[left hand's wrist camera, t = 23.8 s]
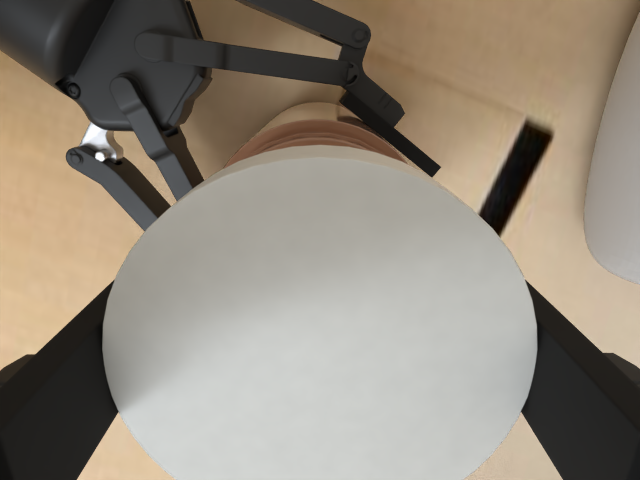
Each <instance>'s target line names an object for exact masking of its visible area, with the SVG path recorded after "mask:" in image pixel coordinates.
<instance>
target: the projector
mask: <svg viewBox="0 0 640 480" xmlns="http://www.w3.org/2000/svg"><path fill="white" fill-rule="evenodd" d="M584 232H585V238H586V242H587V245H588V248H589V250H590V252H591V254H592V256H593V257H594V258H595V260H596V261H597V262H598V263H599V264H600V265H601V266H602V267H603V268H605V269H606V270H608V271H609V272H611V273H612V274H615V275H617V276H619V277H621V278H623V279H625V280H628V281H630V282H633V283H636V284H640V12H639V14H638V16H637V19H636V21H635V23H634V26H633V28H632V31H631V33H630V35H629V38H628V40H627V43H626V46H625V48H624V51H623V54H622V56H621V59H620V61H619V64H618V67H617V70H616V73H615V76H614V79H613V82H612V85H611V88H610V91H609V95H608V98H607V101H606V105H605V108H604V111H603V115H602V119H601V123H600V127H599V130H598V134H597V138H596V143H595V147H594V152H593V156H592V161H591V166H590V171H589V177H588V182H587V189H586V196H585V205H584Z"/></svg>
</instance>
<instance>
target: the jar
mask: <svg viewBox="0 0 640 480" xmlns="http://www.w3.org/2000/svg"><path fill="white" fill-rule="evenodd" d="M309 145H331V146H345V147H352V148H357V149H362V150H367V151H372V152H376V153H379V154H382V155H385V156H388V157H391V158H393V159H396V160H399V161H402V162H404V163H406V164H407V162H406V161H405V160H404V159H403V158H402V157H401V155H400V154H399V153H398V152H397V151H396V150H395V149H394V148H393V147H392V146H391V145H390V144H388V143H387V142H386V141H385V140H384V139H383V138H382V137H381V136H380V135H379V134H378V133H377V132H375V131H374V130H373V129H372V128H371V127H369V126H368V125H367V124H366V123H364V122H363V121H362V120H361V119H360V118H358V117H357V116H356V115H355V114H353V113H352V112H351V111H350V110H348V109H346V108H344V107H342V106H338V105H335V104H331V103H325V102H311V103H304V104H300V105H296V106H294V107H291V108H289V109H287V110H285V111H283V112H281V113H280V114H278V115H277V116H276V117H274V118H273V119H272V120H271V121H270V122H269V123H268V124H266V125H265V126H264V127H263V128H262V129H261V130H260V131H259V132H258V133H257V134H255V135H254V136H253V137H252V138H251V139H250V140H249V141H248V142H247V143H246V144H244V145H243V146H242V147H241V148H240V149H239V150H238V151H237V152H236V153H235V154H234V155H233V156H232V157H231V158H230V160H229V161H228V162H227V164H226V165H225V167H224V168H226V167H228V166H230V165H232V164H234V163H236V162H238V161H241V160H243V159H246V158H249V157H252V156H255V155H258V154H261V153H264V152H268V151H273V150H278V149H283V148H288V147H294V146H309ZM224 168H223V169H224Z"/></svg>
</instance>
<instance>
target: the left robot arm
mask: <svg viewBox="0 0 640 480" xmlns="http://www.w3.org/2000/svg"><path fill="white" fill-rule="evenodd" d="M114 281H115V280H114ZM114 281H113V282H111V283H110V284H109V285H108V286H107V287H106V288H105V289H104V290H103V291H102V292H101V293H100V294H99V295H98V296H97V297H96V298H95V299H94V300H92V301H91V302H90V303H89V304H88V305H87V306H86V307H85V308H84V309H83V310H82V311H81V312H80V313H79V314H78V315H77V316H76V317H74V318H73V319H72V320H71V321H70V322H69V323H68V324H67V325H66V326H65V327H64V328H63V329H62V330H61V331H60V332H59V333H58V334H57V335H55V336H54V337H53V338H52V339H51V340H50V341H49V342H48V343H47V344H46V345H45V346H44V347H43V348H42V349H41V350H40V351H39V352H37V353H36V354H35V355H25V356H23V357H22V358H20V359H18V360H16V361H15V362H13V363H11V364H9V365H8V366H6V367H4V368H3V369H2V370H1V371H0V480H77V478H78V477H79V475H80V473H81V472H82V470H83V469H84V467H85V465H86V464H87V462H88V460H89V459H90V457H91V456H92V454H93V452H94V451H95V449H96V447H97V446H98V444H99V443H100V441H101V439H102V438H103V436H104V435H105V433H106V431H107V430H108V428H109V426H110V425H111V423H112V422H113V420H114V418H115V417H116V415H117V413H118V412H119V411H118V409H117V407H116V405H115V402H114V400H113V398H112V395H111V392H110V388H109V385H108V381H107V377H106V372H105V367H104V360H103V352H102V339H103V321H104V316H105V311H106V306H107V301H108V297H109V294H110V292H111V289H112V286H113V283H114ZM525 281H526V280H525ZM526 284H527V287H528V290H529V292H530V295H531V298H532V301H533V307H534V312H535V318H536V323H537V358H536V364H535V369H534V375H533V379H532V383H531V387H530V391H529V394H528V397H527V399H526V402H525V404H524V406H523V408H522V410H521V412H522V414H523V415H524V417H525V419H526V420H527V422H528V424H529V425H530V427H531V428H532V430H533V432H534V433H535V435H536V437H537V438H538V440H539V441H540V443H541V445H542V446H543V448H544V450H545V451H546V453H547V454H548V456H549V458H550V459H551V461H552V463H553V464H554V466H555V467H556V469H557V471H558V472H559V474H560V476H561V477H562V479H563V480H640V369H639V368H638V367H637V366H635V365H633V364H632V363H630V362H628V361H626V360H625V359H623V358H621V357H619V356H618V355H616V354H614V353H602V352H601V351H600V350H599V349H598V348H597V347H596V346H595V345H594V344H593V343H592V342H591V341H590V340H588V339H587V338H586V337H585V336H584V335H583V334H582V333H581V332H580V331H579V330H578V329H577V328H576V327H575V326H574V325H573V324H572V323H571V322H569V321H568V320H567V319H566V318H565V317H564V316H563V315H562V314H561V313H560V312H559V311H558V310H557V309H556V308H555V307H554V306H553V305H551V304H550V303H549V302H548V301H547V300H546V299H545V298H544V297H543V296H542V295H541V294H540V293H539V292H538V291H537V290H536V289H535V288H534V287H532V286H531V285H530V284H529V283H528V282H527V281H526Z"/></svg>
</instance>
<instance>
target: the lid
mask: <svg viewBox="0 0 640 480" xmlns="http://www.w3.org/2000/svg"><path fill="white" fill-rule="evenodd" d="M102 352H103V360H104V367H105V372H106V377H107V381H108V385H109V388H110V392H111V395H112V398H113V400H114V402H115V405H116V407H117V409H118V411H119V413H120V416H121V418H122V419H123V421H124V423H125V424H126V426H127V427H128V429H129V431H130V432H131V434H132V435H133V437H134V438H135V440H136V441H137V442H138V443H139V444H140V446H141V447H142V448H143V449H144V450H145V452H146V453H147V454H148V455H149V456H150V457H151V458H152V459H153V460H154V461H155V462H156V463H157V464H158V465H159V466H160V467H161V468H162V469H163V470H164V471H165V472H167V473H168V474H169V475H171V476H172V477H173V478H175V479H176V480H464V479H465V478H466V477H468V476H469V475H470V474H472V473H473V472H474V471H475V470H476V469H477V468H478V467H479V466H480V465H481V464H483V463H484V462H485V461H486V460H487V459H488V458H489V457H490V456H491V455H492V454H493V452H494V451H495V450H496V449H497V448H498V446H499V445H500V444H501V443H502V442H503V440H504V439H505V438H506V436H507V435H508V433H509V432H510V430H511V428H512V427H513V425H514V424H515V422H516V420H517V419H518V417H519V415H520V413H521V410H522V408H523V406H524V404H525V402H526V399H527V397H528V394H529V391H530V387H531V383H532V379H533V375H534V369H535V364H536V358H537V323H536V318H535V312H534V307H533V301H532V298H531V295H530V292H529V290H528V287H527V284H526V281H525V278H524V276H523V274H522V272H521V270H520V268H519V266H518V265H517V263H516V261H515V259H514V257H513V255H512V254H511V252H510V250H509V249H508V248H507V247H506V245H505V244H504V243H503V241H502V240H501V239H500V237H499V236H498V235H497V234H496V232H495V231H494V230H493V229H492V228H491V227H490V226H489V225H488V224H487V223H486V222H485V221H484V220H483V219H482V218H481V217H480V216H479V215H478V214H477V213H476V212H475V211H473V210H472V209H471V208H470V207H469V206H468V205H466V204H465V203H464V202H463V201H461V200H460V199H459V198H458V197H457V196H455V195H454V194H453V193H452V192H450V191H449V190H448V189H447V188H445V187H444V186H442V185H441V184H440V183H438V182H437V181H435V180H434V179H432V178H431V177H430V176H428V175H427V174H425V173H423V172H421V171H419V170H417V169H416V168H414V167H412V166H410V165H408V164H406V163H404V162H402V161H399V160H396V159H393V158H391V157H388V156H385V155H382V154H379V153H376V152H372V151H367V150H362V149H357V148H352V147H345V146H331V145H309V146H294V147H288V148H283V149H278V150H273V151H268V152H264V153H261V154H258V155H255V156H252V157H249V158H246V159H243V160H241V161H238V162H236V163H234V164H232V165H230V166H228V167H226V168H224V169H222V170H220V171H218V172H216V173H215V174H213V175H212V176H210V177H209V178H207V179H206V180H205V181H203V182H202V183H200V184H199V185H197V186H196V187H195V188H193V189H192V190H191V191H189V192H188V193H187V194H186V195H185V196H183V197H182V198H181V199H180V200H178V201H177V202H176V203H175V204H174V205H172V206H171V207H170V208H169V209H168V210H167V211H165V212H164V213H163V214H162V215H161V216H160V217H159V218H158V219H157V220H156V221H155V222H154V223H153V224H152V225H151V226H150V227H148V228H147V230H146V231H145V232H144V234H143V235H142V236H141V237H140V239H139V240H138V241H137V242H136V244H135V245H134V246H133V248H132V249H131V250H130V252H129V253H128V255H127V257H126V259H125V261H124V262H123V264H122V266H121V268H120V270H119V271H118V273H117V275H116V278H115V281H114V283H113V286H112V289H111V292H110V294H109V297H108V301H107V306H106V311H105V316H104V321H103V339H102Z"/></svg>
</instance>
